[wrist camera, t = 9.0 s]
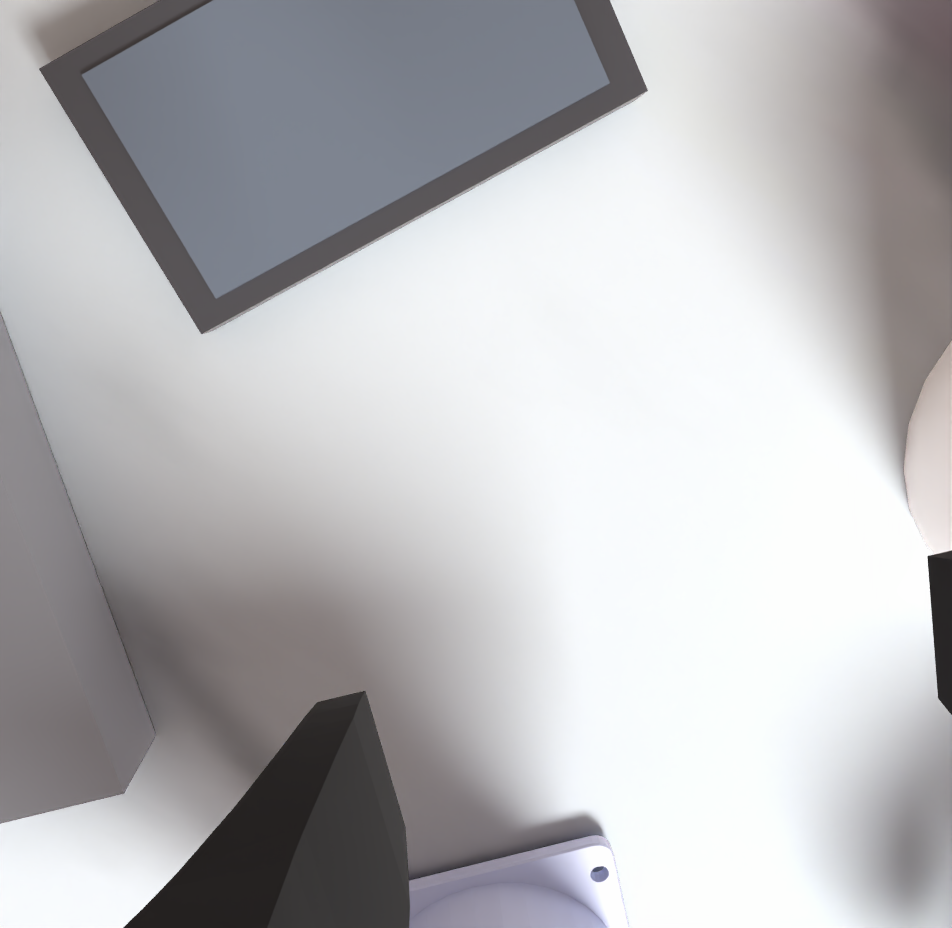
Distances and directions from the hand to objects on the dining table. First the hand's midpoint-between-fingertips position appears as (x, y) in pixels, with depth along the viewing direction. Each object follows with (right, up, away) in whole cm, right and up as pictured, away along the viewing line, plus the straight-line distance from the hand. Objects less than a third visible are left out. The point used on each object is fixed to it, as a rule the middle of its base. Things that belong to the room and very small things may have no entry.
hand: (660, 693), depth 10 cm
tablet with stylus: (-5, +12, +7) cm, 15 cm away
